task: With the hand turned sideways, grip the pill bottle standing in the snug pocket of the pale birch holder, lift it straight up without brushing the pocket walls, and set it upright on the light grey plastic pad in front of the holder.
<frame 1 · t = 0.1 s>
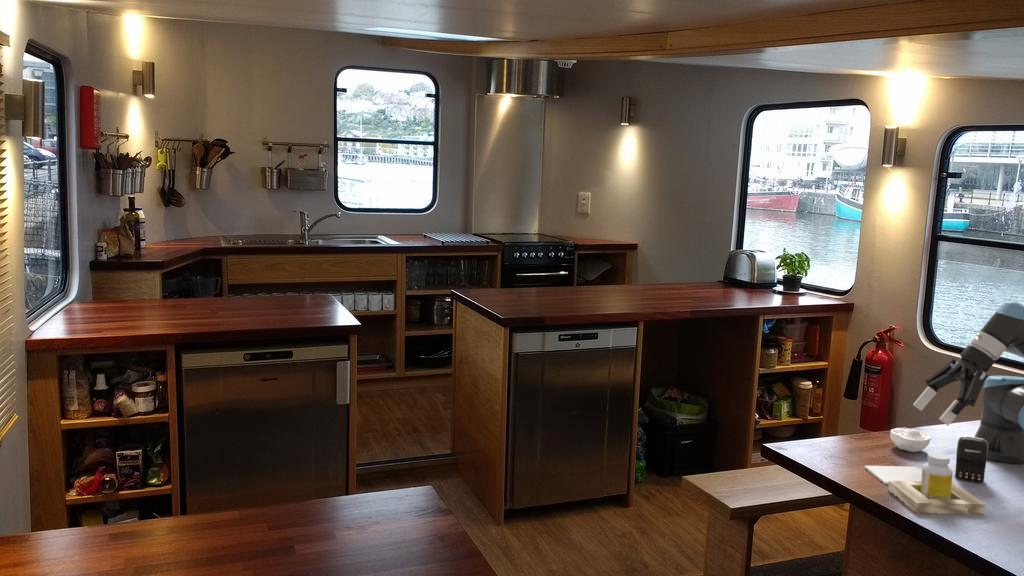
hand: (929, 415, 216), 15 cm above the table, tool tilted 35°, fingers open, 13 cm apart
battery charger: (969, 481, 210), on the table
holder: (934, 501, 195), on the table
pill bottle: (934, 502, 195), resting in holder
cell model: (908, 450, 234), on the table
pad: (900, 476, 212), on the table
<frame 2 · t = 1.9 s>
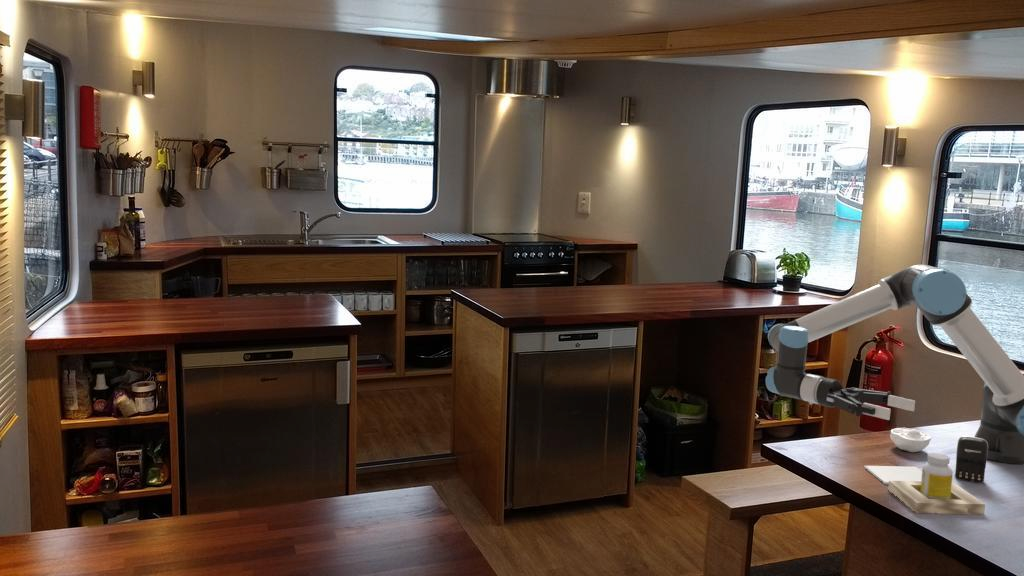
hand: (902, 410, 200), 21 cm above the table, tool horizontal, fingers open, 13 cm apart
nothing on the table moved.
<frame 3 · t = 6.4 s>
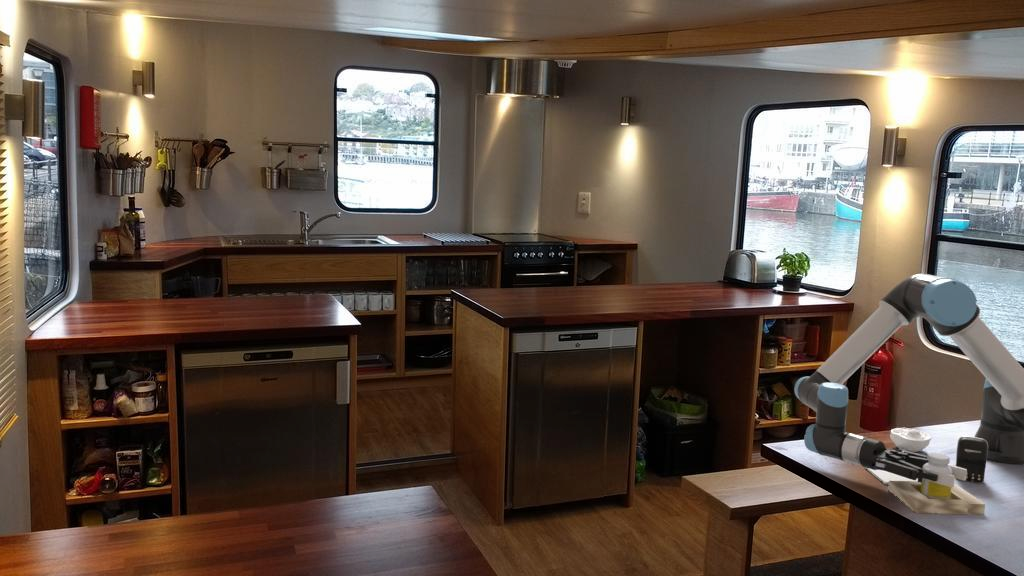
hand: (959, 478, 190), 8 cm above the table, tool horizontal, fingers closed on pill bottle, 6 cm apart
pill bottle: (934, 502, 195), resting in holder, touching gripper
everything else where it was.
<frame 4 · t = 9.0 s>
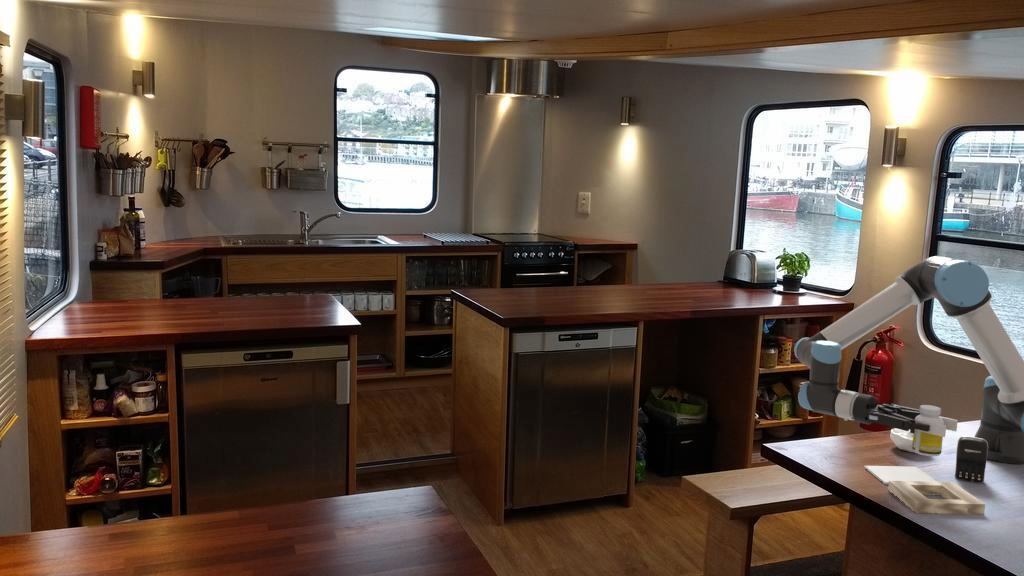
hand: (950, 428, 195), 18 cm above the table, tool horizontal, fingers closed on pill bottle, 6 cm apart
pill bottle: (926, 453, 200), point 10 cm above the table, touching gripper
everything else where it was.
when the fingers open (10 cm above the table, at t = 11.6 s): pill bottle drops 1 cm, resting on pad.
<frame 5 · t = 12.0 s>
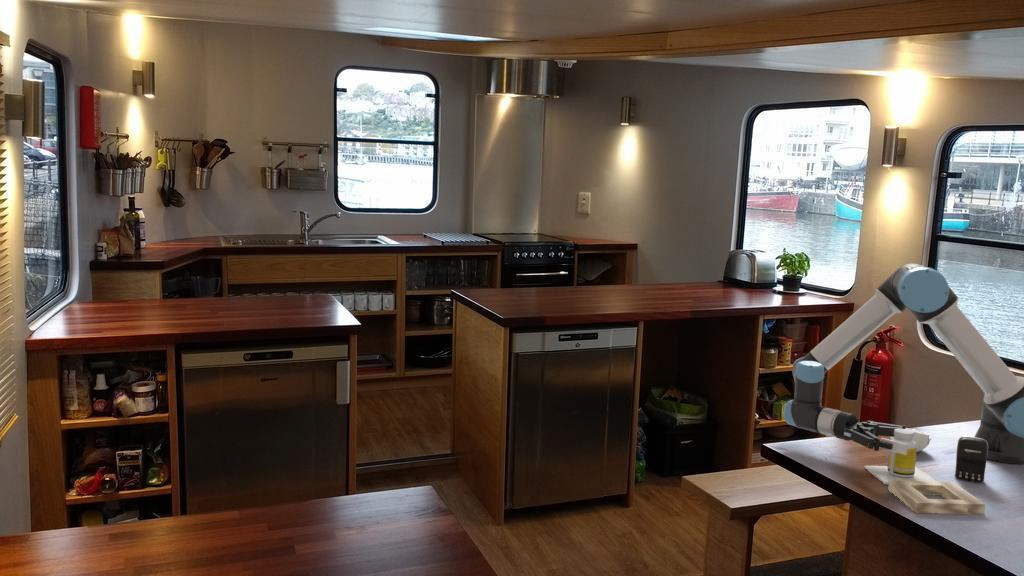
hand: (917, 444, 208), 10 cm above the table, tool horizontal, fingers open, 12 cm apart
pill bottle: (900, 474, 212), resting on pad
everything else where it was.
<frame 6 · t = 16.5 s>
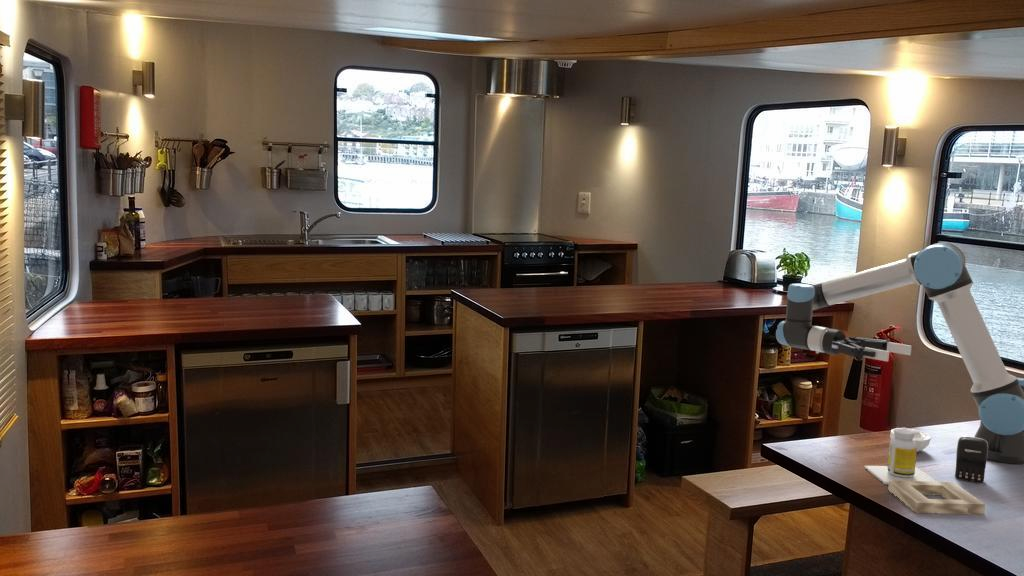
hand: (899, 353, 222), 30 cm above the table, tool horizontal, fingers open, 13 cm apart
nothing on the table moved.
at the end: pill bottle inside the target area on the pad (0.1 cm from its centre), point 0.4 cm above the pad's base; pill bottle tilted 0°; pill bottle touching pad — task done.
